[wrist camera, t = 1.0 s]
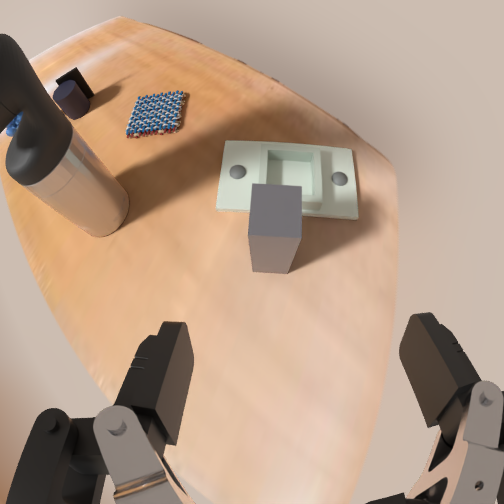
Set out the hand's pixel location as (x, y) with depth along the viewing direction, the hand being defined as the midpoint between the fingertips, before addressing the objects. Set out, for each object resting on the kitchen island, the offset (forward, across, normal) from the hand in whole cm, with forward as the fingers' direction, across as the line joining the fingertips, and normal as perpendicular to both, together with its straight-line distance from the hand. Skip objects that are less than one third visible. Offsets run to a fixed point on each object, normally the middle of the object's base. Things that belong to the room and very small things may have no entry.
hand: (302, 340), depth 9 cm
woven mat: (+46, +20, -9) cm, 51 cm away
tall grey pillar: (+27, 0, +10) cm, 29 cm away
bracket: (+35, -3, +2) cm, 35 cm away
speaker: (+50, +40, -15) cm, 66 cm away
